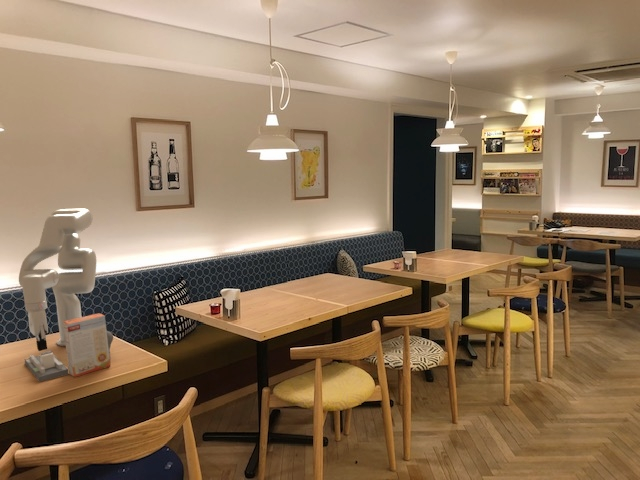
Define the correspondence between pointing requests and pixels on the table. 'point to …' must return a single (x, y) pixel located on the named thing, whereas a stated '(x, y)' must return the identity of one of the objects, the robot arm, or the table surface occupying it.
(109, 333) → the light bulb
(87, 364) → the cracker box
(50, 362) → the switch tab
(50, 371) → the switch panel
